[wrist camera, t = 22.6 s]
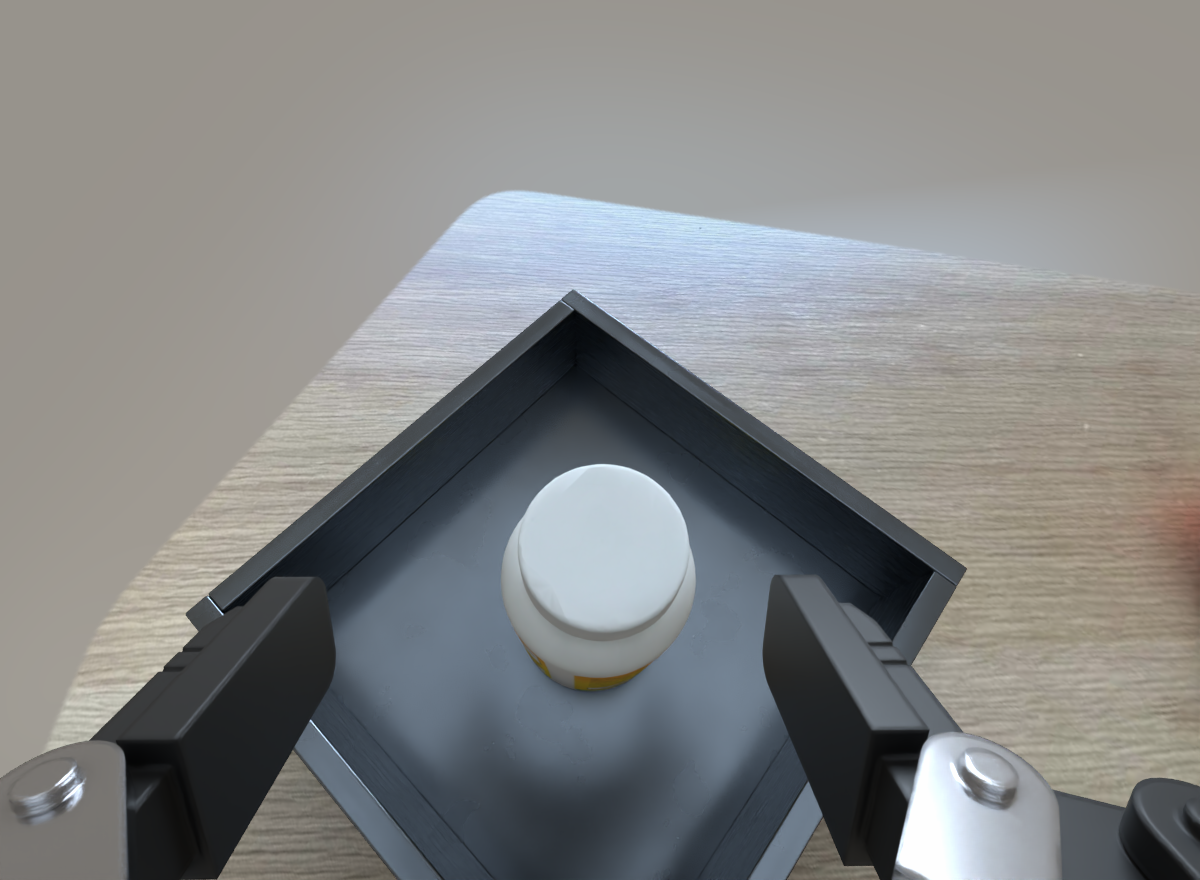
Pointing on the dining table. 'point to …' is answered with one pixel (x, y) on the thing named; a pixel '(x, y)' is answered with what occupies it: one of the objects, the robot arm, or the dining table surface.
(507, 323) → the dining table surface
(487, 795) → the tray
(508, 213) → the dining table surface
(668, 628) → the supplement bottle
